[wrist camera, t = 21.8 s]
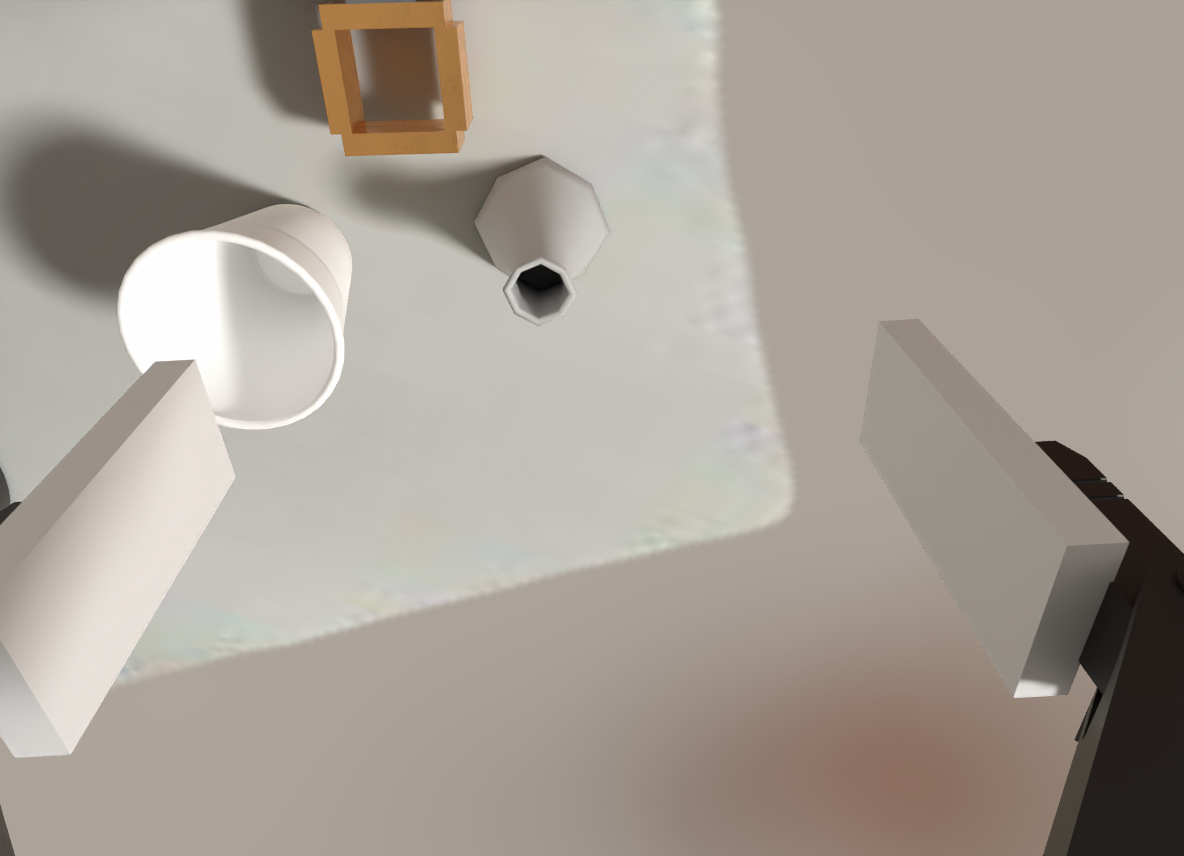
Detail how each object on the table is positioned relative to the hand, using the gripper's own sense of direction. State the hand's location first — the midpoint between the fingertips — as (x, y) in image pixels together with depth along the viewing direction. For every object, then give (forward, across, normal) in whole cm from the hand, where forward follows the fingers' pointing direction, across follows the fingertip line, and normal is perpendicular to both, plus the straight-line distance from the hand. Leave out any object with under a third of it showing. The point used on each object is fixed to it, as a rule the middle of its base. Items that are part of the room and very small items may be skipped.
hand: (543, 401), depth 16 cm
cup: (+31, +15, +7) cm, 35 cm away
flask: (+31, +1, +6) cm, 32 cm away
